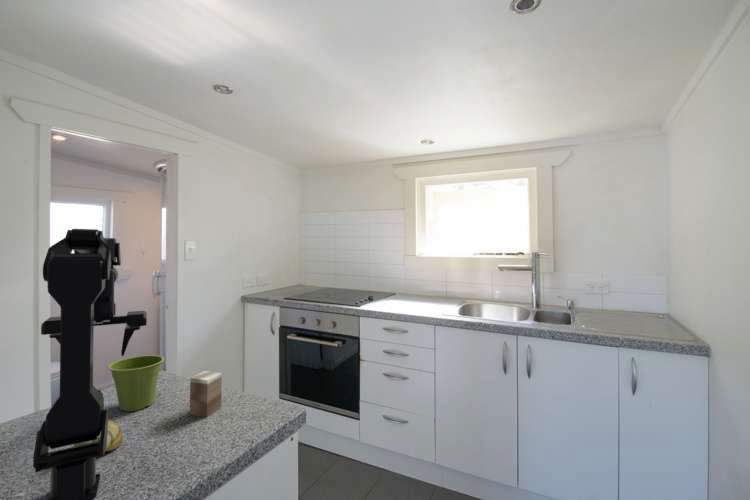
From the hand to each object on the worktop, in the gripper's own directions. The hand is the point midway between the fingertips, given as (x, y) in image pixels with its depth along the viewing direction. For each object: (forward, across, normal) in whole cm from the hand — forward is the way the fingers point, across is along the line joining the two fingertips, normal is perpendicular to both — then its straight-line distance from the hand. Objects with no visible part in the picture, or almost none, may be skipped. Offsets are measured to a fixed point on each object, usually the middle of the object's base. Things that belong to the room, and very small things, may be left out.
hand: (98, 358), depth 81 cm
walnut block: (+15, -22, +7) cm, 27 cm away
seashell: (+15, -2, +14) cm, 20 cm away
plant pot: (+15, -7, -5) cm, 17 cm away
